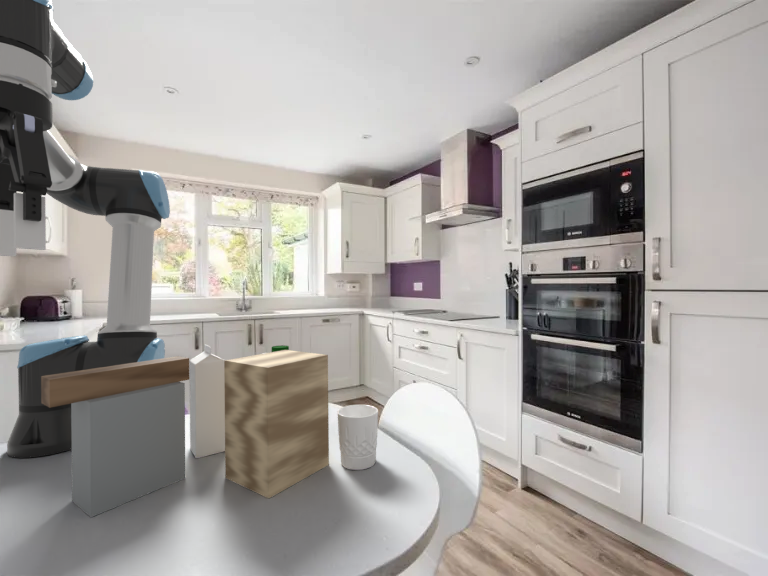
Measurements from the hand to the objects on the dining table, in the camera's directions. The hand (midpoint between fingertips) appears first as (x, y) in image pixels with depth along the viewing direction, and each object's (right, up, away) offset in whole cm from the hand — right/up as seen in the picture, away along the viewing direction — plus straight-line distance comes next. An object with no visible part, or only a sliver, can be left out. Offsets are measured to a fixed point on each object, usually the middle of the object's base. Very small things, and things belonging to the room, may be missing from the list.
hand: (15, 252), depth 49 cm
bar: (+5, -22, +14) cm, 26 cm away
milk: (+11, -39, +30) cm, 50 cm away
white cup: (+44, -39, +23) cm, 63 cm away
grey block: (+6, -39, +14) cm, 42 cm away
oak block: (+29, -39, +20) cm, 52 cm away
